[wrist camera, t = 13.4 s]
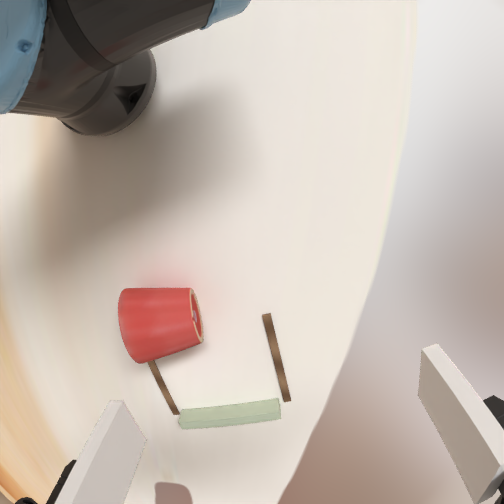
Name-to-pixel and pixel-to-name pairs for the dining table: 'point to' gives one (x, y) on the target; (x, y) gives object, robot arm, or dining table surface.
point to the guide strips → (276, 359)
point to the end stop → (230, 414)
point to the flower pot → (158, 321)
